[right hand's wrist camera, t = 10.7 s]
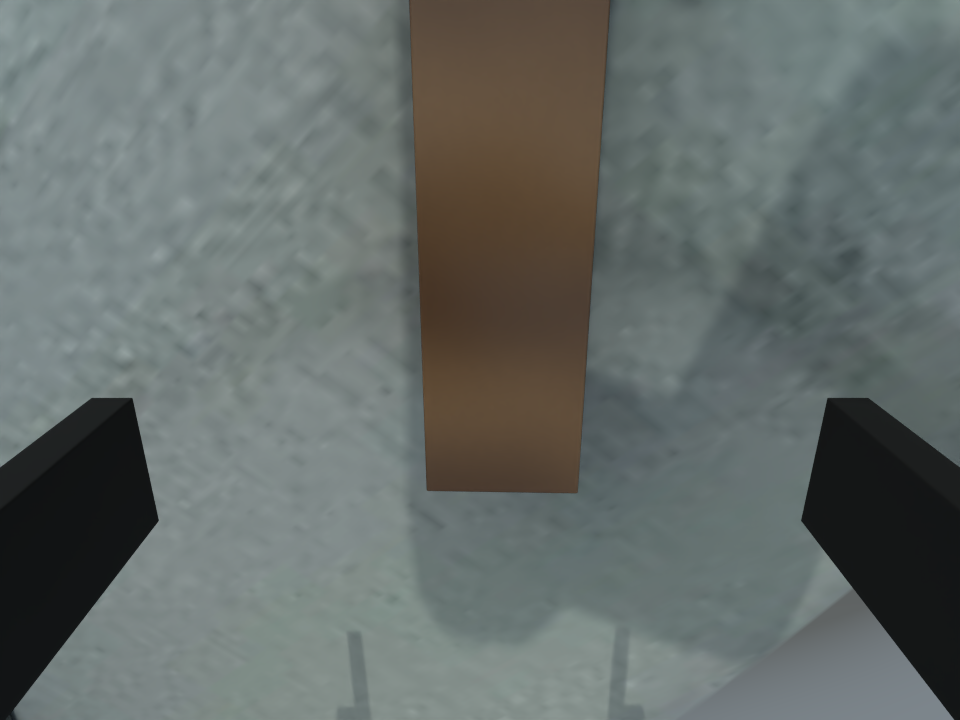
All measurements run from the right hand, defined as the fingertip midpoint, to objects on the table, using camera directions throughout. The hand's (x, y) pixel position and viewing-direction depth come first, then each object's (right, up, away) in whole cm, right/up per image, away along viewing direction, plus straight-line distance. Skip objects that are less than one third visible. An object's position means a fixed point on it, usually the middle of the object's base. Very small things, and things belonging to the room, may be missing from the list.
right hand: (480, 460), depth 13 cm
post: (+1, +30, +3) cm, 30 cm away
